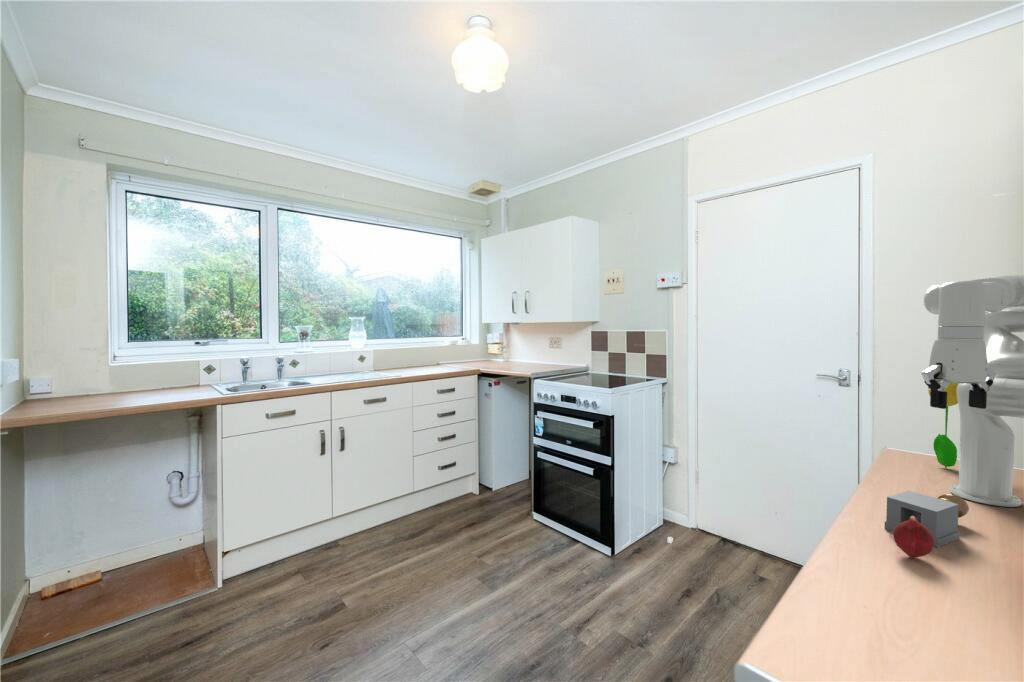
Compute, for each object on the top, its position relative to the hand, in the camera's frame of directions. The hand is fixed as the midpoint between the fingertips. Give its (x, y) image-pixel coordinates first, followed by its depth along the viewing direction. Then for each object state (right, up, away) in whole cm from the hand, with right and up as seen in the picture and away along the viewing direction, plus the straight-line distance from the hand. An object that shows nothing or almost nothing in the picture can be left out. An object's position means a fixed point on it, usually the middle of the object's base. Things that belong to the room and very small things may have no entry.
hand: (957, 407), depth 101 cm
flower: (+33, -25, +36) cm, 54 cm away
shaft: (-9, -25, -4) cm, 26 cm away
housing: (-16, -26, -8) cm, 31 cm away
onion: (-27, -27, -17) cm, 41 cm away
